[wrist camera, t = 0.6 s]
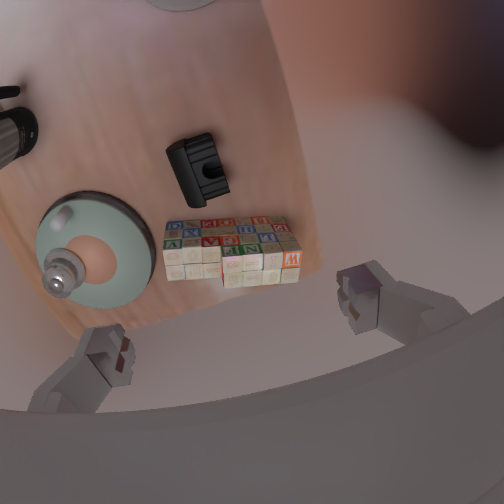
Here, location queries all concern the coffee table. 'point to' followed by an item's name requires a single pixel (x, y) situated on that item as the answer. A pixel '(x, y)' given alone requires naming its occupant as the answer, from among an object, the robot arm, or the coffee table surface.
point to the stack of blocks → (232, 251)
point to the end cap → (198, 169)
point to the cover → (62, 272)
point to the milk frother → (15, 129)
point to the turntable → (99, 250)
